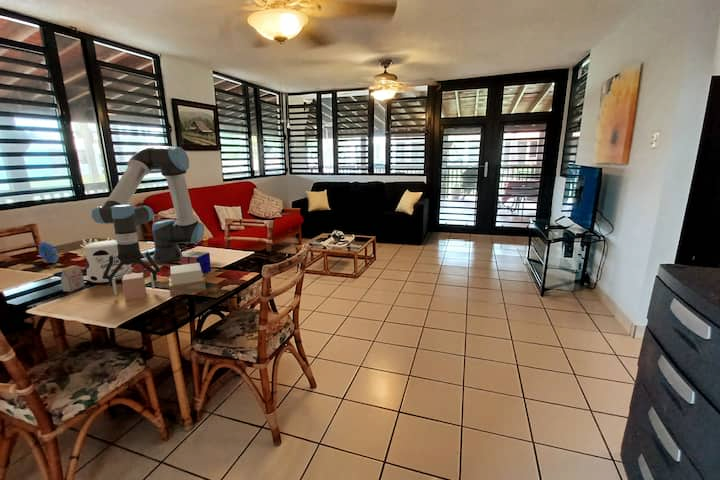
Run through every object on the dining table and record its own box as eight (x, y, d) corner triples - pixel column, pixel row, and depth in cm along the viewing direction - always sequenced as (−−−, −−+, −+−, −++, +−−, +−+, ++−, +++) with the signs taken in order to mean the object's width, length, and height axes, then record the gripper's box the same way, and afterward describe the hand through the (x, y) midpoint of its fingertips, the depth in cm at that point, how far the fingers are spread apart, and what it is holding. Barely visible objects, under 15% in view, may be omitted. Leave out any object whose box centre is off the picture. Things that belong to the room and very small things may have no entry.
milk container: (119, 286, 154) (113, 248, 150) (79, 286, 153) (72, 248, 149) (140, 273, 171) (135, 239, 167) (104, 274, 170) (98, 239, 165)
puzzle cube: (199, 276, 168) (197, 257, 166) (181, 275, 170) (179, 256, 167) (211, 270, 177) (209, 252, 175) (194, 269, 179) (192, 251, 177)
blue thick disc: (33, 264, 183) (28, 243, 180) (46, 261, 189) (42, 240, 186) (50, 266, 181) (45, 244, 178) (63, 262, 187) (59, 241, 184)
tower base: (170, 286, 156) (169, 276, 155) (203, 281, 163) (202, 271, 161) (170, 297, 144) (169, 286, 143) (206, 291, 151) (205, 281, 150)
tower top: (171, 276, 155) (170, 266, 153) (200, 272, 160) (199, 262, 159) (172, 285, 144) (170, 274, 143) (202, 280, 150) (201, 270, 149)
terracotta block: (127, 294, 145) (124, 274, 143) (146, 291, 149) (143, 272, 146) (125, 300, 139) (122, 280, 137) (145, 297, 143) (142, 277, 140)
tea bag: (63, 291, 148) (58, 269, 145) (77, 285, 154) (73, 265, 152) (70, 291, 147) (66, 270, 145) (84, 286, 154) (80, 265, 151)
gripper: (87, 247, 129) (97, 299, 134) (162, 241, 141) (168, 288, 146) (91, 243, 136) (100, 292, 141) (162, 237, 147) (168, 282, 152)
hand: (135, 290), depth 143 cm, fingers open, 13 cm apart
